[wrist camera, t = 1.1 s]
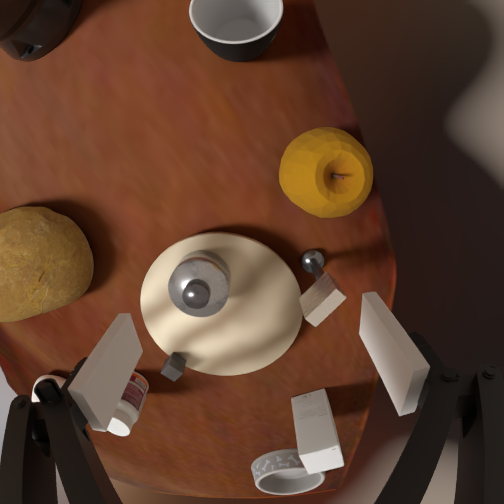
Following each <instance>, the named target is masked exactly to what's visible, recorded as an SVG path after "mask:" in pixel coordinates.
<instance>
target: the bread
mask: <svg viewBox="0 0 504 504" xmlns="http://www.w3.org/2000/svg"><path fill="white" fill-rule="evenodd" d="M93 270H94V263H93V255H92V251H91V248H90V246H89V243H88V241H87V239H86V237H85V235H84V234H83V232H82V231H81V229H80V228H79V227H78V226H77V224H76V223H75V222H74V221H72V220H71V219H70V218H68V217H67V216H64V215H61V214H59V213H55V212H54V211H52V210H50V209H49V208H46V207H18V208H15V209H13V210H9V211H6V212H3V213H1V214H0V322H11V321H18V320H23V319H26V318H28V317H31V316H34V315H38V314H40V313H46V312H49V311H52V310H54V309H57V308H59V307H62V306H64V305H67V304H70V303H72V302H74V301H75V300H77V299H79V298H80V297H81V296H82V295H83V294H84V293H85V292H86V290H87V289H88V287H89V285H90V283H91V280H92V276H93Z"/></svg>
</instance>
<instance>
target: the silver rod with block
mask: <svg viewBox="0 0 504 504" xmlns="http://www.w3.org/2000/svg"><path fill="white" fill-rule="evenodd" d="M301 264H302V266H303V268H304V270H305V271H307V272H309V273H313V274H314V276H315V278H316V280H317V281H316V282H315V283H314V284H313V285H312V286H311V287H310V288H309V289H308V290H307V291H306V292H305V293H304V294H303V295H302V296H301V297H300V298H299V300H300V304H301V307H302V311H303V314H304V318H305V319H306V320H307V321H308V322H309V323H311V324H312V325H313V326H315V327H316V326H317V325H318V324H320V323H321V322H322V321H323V320H324V319H325V318H326V317H327V316H328V315H329V314H330V313H331V312H332V311H333V310H334V309H335V308H336V307H337V306H339V305H340V304H341V303H342V302H343V301H344V300H345V299H346V296H345V294H344V292H343V291H342V289H341V287H340V286H339V284H338V282H337V281H336V279H335V278H334V277H333V276H331V275H330V274H329V273H328V272H327V271H326V272H325V273H324V271H323V270H322V267H323V265H324V257H323V256H322V254H321V253H320V251H318V250H316V249H309V250H307V251H305V252H304V253H303V255H302V256H301Z"/></svg>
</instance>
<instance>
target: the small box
mask: <svg viewBox="0 0 504 504" xmlns="http://www.w3.org/2000/svg"><path fill="white" fill-rule="evenodd" d="M291 402H292V409H293V416H294V423H295V431H296V439H297V446H298V455H299V458H300V459H301V461H302V463H303V465H304V467H305V469H306V471H307V473H308V474H313V473H318V472H322V471H326V470H330V469H334V468H338V467H341V466H344V461H343V457H342V453H341V449H340V444H339V440H338V436H337V431H336V427H335V423H334V419H333V415H332V411H331V408H330V404H329V400H328V397H327V394H326V391H325V389H320V390H317V391H313V392H310V393H306V394H303V395H299V396H296V397H292V398H291Z"/></svg>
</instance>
